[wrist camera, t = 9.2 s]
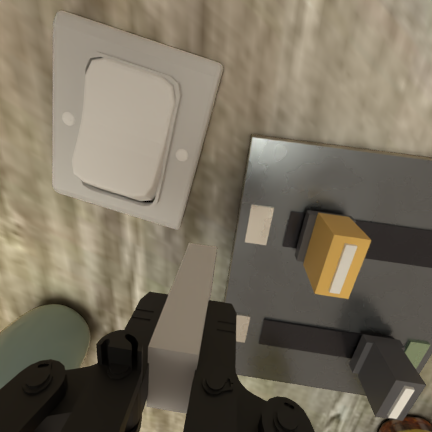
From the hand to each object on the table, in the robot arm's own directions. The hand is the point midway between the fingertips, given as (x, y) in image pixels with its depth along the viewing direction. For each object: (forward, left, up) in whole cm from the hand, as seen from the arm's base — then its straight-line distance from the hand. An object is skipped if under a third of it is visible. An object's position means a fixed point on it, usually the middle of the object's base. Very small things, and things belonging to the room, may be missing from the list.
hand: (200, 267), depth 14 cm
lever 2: (+10, +15, -5) cm, 19 cm away
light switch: (-5, -7, -9) cm, 12 cm away
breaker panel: (+5, +11, -8) cm, 14 cm away
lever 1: (0, +8, -5) cm, 10 cm away
